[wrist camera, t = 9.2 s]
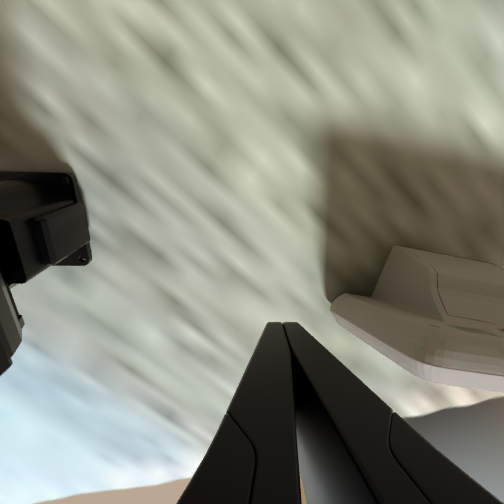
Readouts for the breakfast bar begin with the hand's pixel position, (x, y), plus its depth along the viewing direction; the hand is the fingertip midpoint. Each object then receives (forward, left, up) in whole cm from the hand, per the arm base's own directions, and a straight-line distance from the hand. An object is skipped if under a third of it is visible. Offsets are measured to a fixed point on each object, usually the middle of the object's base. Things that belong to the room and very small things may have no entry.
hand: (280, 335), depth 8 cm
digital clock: (+14, -7, -13) cm, 21 cm away
